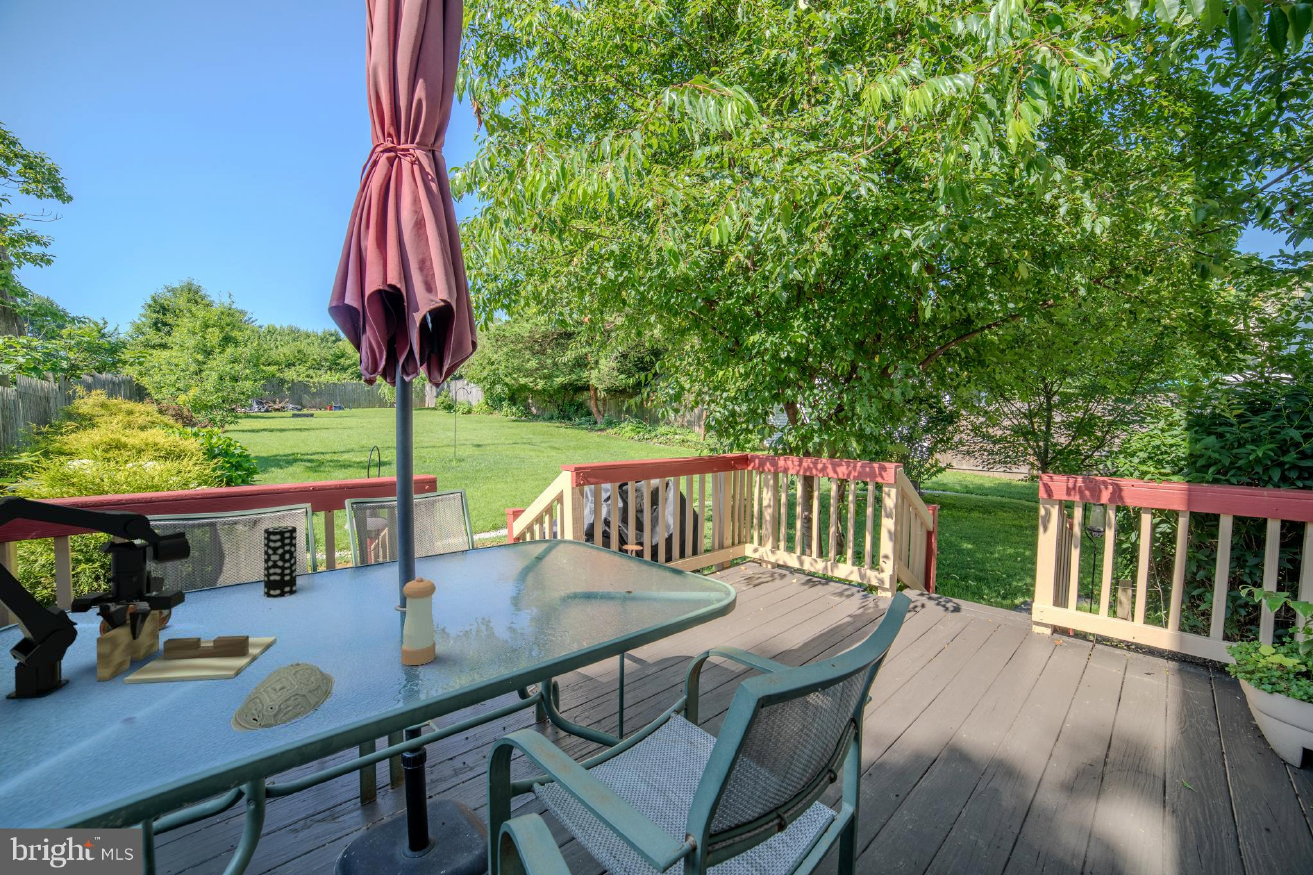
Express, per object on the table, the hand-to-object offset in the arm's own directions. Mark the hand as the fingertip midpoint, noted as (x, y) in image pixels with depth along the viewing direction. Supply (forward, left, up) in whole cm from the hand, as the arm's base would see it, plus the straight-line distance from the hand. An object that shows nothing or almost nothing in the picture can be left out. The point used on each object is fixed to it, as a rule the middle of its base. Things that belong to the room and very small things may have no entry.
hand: (129, 639), depth 127 cm
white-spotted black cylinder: (+49, -10, -6) cm, 50 cm away
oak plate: (0, 0, -6) cm, 6 cm away
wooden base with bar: (0, -15, -6) cm, 16 cm away
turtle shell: (-21, -40, -6) cm, 45 cm away
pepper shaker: (-5, -61, -6) cm, 61 cm away
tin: (+17, +9, -6) cm, 20 cm away
